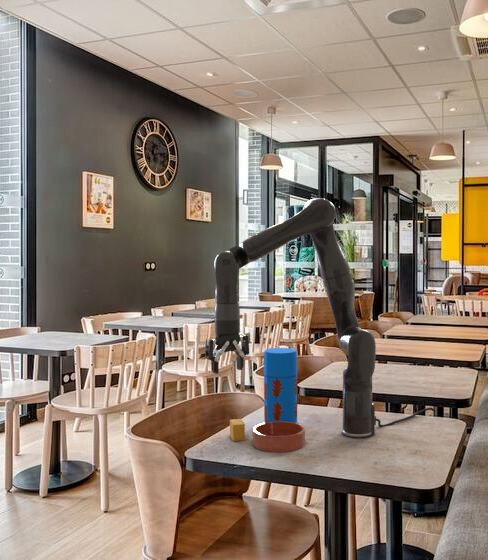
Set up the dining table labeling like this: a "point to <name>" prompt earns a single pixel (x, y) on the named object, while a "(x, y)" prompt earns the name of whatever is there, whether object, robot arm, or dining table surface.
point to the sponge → (237, 430)
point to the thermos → (280, 385)
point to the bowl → (279, 436)
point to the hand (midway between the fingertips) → (227, 371)
